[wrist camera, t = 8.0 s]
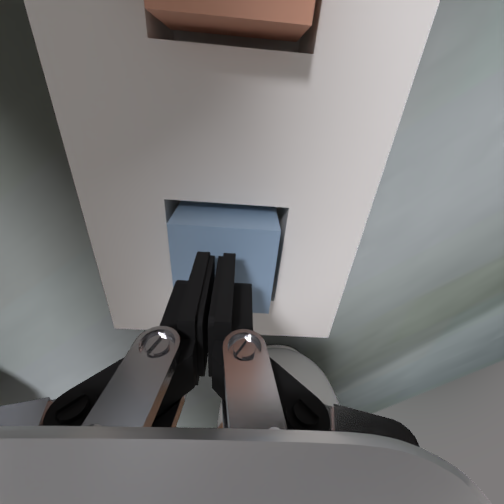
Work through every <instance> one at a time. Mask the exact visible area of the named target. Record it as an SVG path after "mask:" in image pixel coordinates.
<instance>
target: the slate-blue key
mask: <svg viewBox="0 0 504 504" xmlns="http://www.w3.org/2000/svg"><path fill="white" fill-rule="evenodd" d="M167 232H168V242H169V252H170V262H171V271H172V281H173V287H174V285H175V282H176V281H177V280H189V277H190V274H191V270H192V267H193V264H194V260H195V257H196V254H197V252H198V251H200V252H210V255H213V256H215V274H216V268H217V262H218V256H223V253H236V260H235V279H234V283H250V284H252V310H253V313H265V314H269V308H270V302H271V295H272V288H273V282H274V275H275V268H276V262H277V255H278V248H279V241H280V235H281V229H280V225H279V220H278V216H277V212H276V208H275V207H270V206H256V205H241V204H226V203H212V202H197V201H183V200H181V202H180V203H179V205H178V207H177V208H176V210H175V211H174V213H173V214H172V216H171V218H170V219H169V221H168V222H167Z"/></svg>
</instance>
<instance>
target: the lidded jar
mask: <svg viewBox="0 0 504 504" xmlns="http://www.w3.org/2000/svg"><path fill="white" fill-rule="evenodd" d="M266 347H267V351H268V354H269V357H270V358H272V359H273V360H274V361H275V362H276V363H278V364H279V365H280V366H281V367H282V368H284V369H285V370H286V371H287V372H288V373H289V374H291V375H292V376H293V377H294V378H295V379H297V380H298V381H299V382H300V383H301V384H302V385H304V386H305V387H306V388H307V389H308V390H310V391H311V392H312V393H313V394H314V395H315V396H317V397H318V398H319V399H320V400H321V401H322V402H323V404H325V405H329V406H333V404H337V405H339V402H338V399H337V397H336V395H335V392H334V390H333V388H332V386H331V384H330V382H329V380H328V379H327V377H326V376H325V374H324V373H323V372H322V370H321V369H320V368H319V367H318V366H317V365H316V364H315V363H314V362H313V361H312V360H310V359H309V358H308V357H306V356H304V355H303V354H300V353H299V352H298V351H297V350H296V349H294V348H292V347H289V346H285V345H267V346H266ZM217 428H223V419H222V405H221V404H220V409H219V417H218V425H217Z"/></svg>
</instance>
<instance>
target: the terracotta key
mask: <svg viewBox="0 0 504 504" xmlns="http://www.w3.org/2000/svg"><path fill="white" fill-rule="evenodd" d="M144 5H145V9H146V10H148V11H149V12H150V13H151V14H152V15H154V16H155V17H156V18H157V19H158V20H160V21H161V22H162V23H163V24H165V25H166V26H167V27H168V28H169V29H171V30H180V31H190V32H200V33H210V34H220V35H230V36H240V37H250V38H260V39H271V40H281V41H291V42H297V41H298V40H299V39H300V38H301V36H302V35H303V34H304V33H305V32H306V31H307V30H308V29H309V28H310V27H311V26H312V20H313V13H314V7H315V0H144Z"/></svg>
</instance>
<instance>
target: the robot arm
mask: <svg viewBox="0 0 504 504" xmlns="http://www.w3.org/2000/svg"><path fill="white" fill-rule="evenodd" d="M235 260H236V253H223V256H218V262H217V268H216V274H215V256H213V255H210V252H200V251H198V252H197V254H196V257H195V260H194V264H193V267H192V270H191V274H190V277H189V280H177V281H176V282H175V285H174V287H173V290H172V293H171V296H170V298H169V301H168V304H167V307H166V309H165V312H164V315H163V317H162V320H161V323H160V326H156V327H152V328H150V329H147V330H146V331H144V332H143V333H141V334H140V335H139V336H138V338H137V339H136V340H135V342H134V343H133V345H132V346H131V348H130V350H129V351H128V353H127V354H126V356H125V357H124V358H122V359H121V360H119V361H117V362H116V363H114V364H112V365H111V366H109V367H107V368H106V369H104V370H102V371H100V372H99V373H97V374H95V375H94V376H92V377H90V378H89V379H87V380H85V381H84V382H82V383H80V384H78V385H77V386H75V387H73V388H72V389H70V390H68V391H67V392H65V393H64V394H62V395H61V396H60V397H58V398H57V399H55V400H51V399H50V398H49V397H47V398H42V399H36V400H31V401H26V402H20V403H15V404H10V405H4V406H0V504H492V503H491V502H490V501H489V499H488V498H487V497H486V496H485V495H484V493H483V492H482V491H481V490H480V489H479V487H478V486H477V485H476V484H475V483H474V482H473V481H472V480H471V479H470V478H469V477H468V476H466V474H464V473H463V472H462V471H460V470H459V469H458V468H457V467H455V466H453V465H452V464H451V463H449V462H447V461H446V460H444V459H442V458H440V457H439V456H437V455H435V454H433V453H431V452H429V451H427V450H425V449H423V448H421V447H420V446H419V444H418V442H417V439H416V437H415V436H414V435H413V434H412V432H411V431H410V430H409V429H408V428H407V427H406V426H404V425H403V424H402V423H400V422H398V421H396V420H393V419H390V418H386V417H382V416H379V415H375V414H371V413H368V412H364V411H360V410H356V409H352V408H349V407H345V406H341V405H337V404H333V406H329V405H325V404H323V402H322V401H321V400H320V399H319V398H318V397H317V396H315V395H314V394H313V393H312V392H311V391H310V390H308V389H307V388H306V387H305V386H304V385H302V384H301V383H300V382H299V381H298V380H297V379H295V378H294V377H293V376H292V375H291V374H289V373H288V372H287V371H286V370H285V369H284V368H282V367H281V366H280V365H279V364H278V363H276V362H275V361H274V360H273V359H272V358H270V357H269V354H268V351H267V347H266V343H265V341H264V339H263V338H262V337H261V335H260V334H258V333H256V332H255V331H253V310H252V284H250V283H234V279H235ZM207 356H208V368H209V377H212V388H213V389H214V390H215V391H216V393H217V394H218V395H219V396H220V397H221V405H222V419H223V428H176V425H177V422H178V419H179V416H180V413H181V410H182V407H183V405H184V402H185V397H186V394H187V393H188V392H189V391H190V390H192V389H193V388H194V387H195V385H198V382H199V376H205V370H206V363H207Z"/></svg>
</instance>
